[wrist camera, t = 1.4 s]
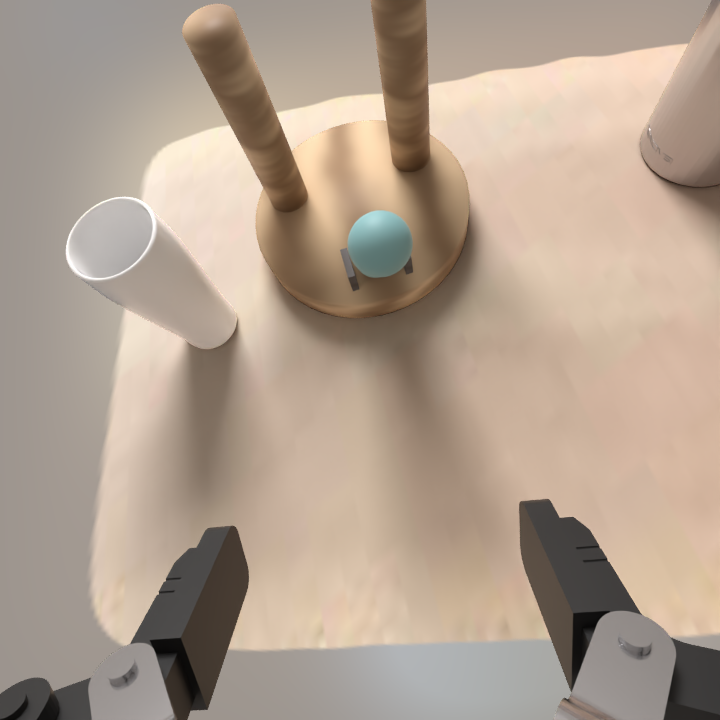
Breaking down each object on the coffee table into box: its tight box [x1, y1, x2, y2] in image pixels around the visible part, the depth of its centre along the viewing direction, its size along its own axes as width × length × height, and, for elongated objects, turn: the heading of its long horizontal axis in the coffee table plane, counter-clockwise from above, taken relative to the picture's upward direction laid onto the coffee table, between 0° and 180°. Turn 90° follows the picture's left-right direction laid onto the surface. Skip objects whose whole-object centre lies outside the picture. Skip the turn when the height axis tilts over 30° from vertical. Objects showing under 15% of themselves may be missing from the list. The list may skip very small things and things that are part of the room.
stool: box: [182, 0, 469, 318], centre depth 37 cm, size 20×20×20 cm
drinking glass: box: [66, 197, 237, 349], centre depth 38 cm, size 7×7×15 cm
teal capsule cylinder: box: [348, 210, 413, 278], centre depth 32 cm, size 4×4×17 cm
